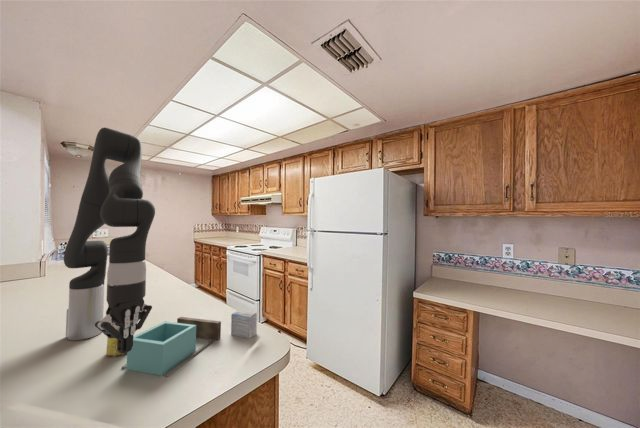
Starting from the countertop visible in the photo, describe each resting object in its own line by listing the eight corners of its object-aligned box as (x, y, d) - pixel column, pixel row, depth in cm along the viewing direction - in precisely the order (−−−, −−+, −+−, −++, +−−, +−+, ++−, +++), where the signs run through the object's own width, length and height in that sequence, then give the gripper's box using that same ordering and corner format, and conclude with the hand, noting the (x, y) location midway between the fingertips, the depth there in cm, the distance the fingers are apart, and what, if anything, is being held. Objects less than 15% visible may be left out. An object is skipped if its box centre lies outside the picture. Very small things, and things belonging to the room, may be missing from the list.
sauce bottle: (117, 363, 72) (120, 294, 72) (100, 360, 73) (103, 292, 74) (138, 351, 78) (140, 288, 79) (122, 349, 80) (124, 286, 80)
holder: (126, 369, 67) (127, 339, 67) (164, 346, 79) (164, 321, 79) (162, 375, 65) (163, 344, 65) (195, 351, 77) (196, 325, 77)
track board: (118, 373, 67) (119, 347, 68) (180, 336, 89) (180, 316, 89) (169, 382, 64) (169, 355, 64) (220, 342, 86) (220, 321, 86)
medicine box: (256, 336, 90) (257, 312, 90) (249, 342, 86) (250, 316, 86) (238, 333, 93) (239, 309, 93) (230, 338, 88) (231, 313, 89)
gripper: (139, 273, 68) (137, 337, 68) (84, 285, 55) (81, 365, 55) (162, 275, 67) (160, 340, 66) (112, 287, 54) (109, 369, 53)
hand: (125, 351), depth 61 cm, fingers closed
